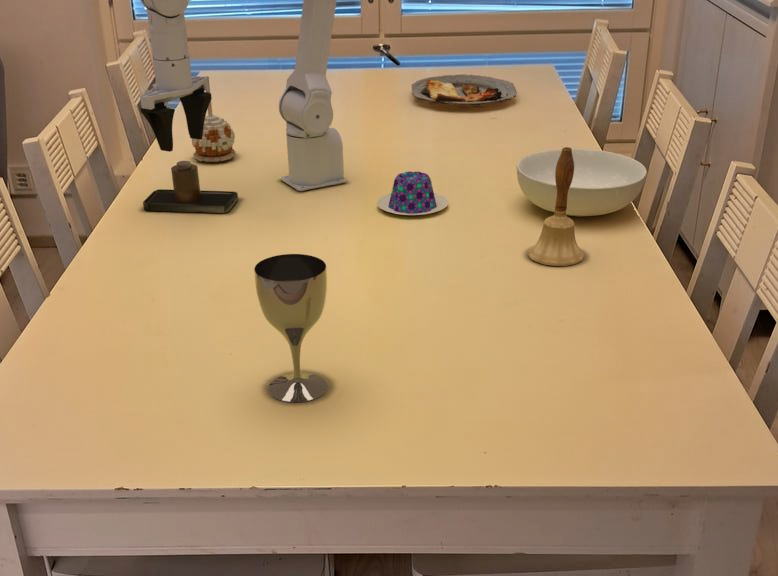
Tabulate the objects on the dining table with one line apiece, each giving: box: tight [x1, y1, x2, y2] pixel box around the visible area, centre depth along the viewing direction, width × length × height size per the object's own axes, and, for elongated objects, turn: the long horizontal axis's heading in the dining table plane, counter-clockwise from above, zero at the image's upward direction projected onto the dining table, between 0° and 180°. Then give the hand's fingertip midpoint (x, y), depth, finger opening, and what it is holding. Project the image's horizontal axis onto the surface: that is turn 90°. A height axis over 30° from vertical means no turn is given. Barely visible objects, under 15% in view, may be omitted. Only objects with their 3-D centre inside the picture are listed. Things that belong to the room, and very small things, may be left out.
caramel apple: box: [191, 75, 236, 163], centre depth 193 cm, size 8×8×15 cm
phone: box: [142, 188, 239, 214], centre depth 175 cm, size 8×1×15 cm
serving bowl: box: [516, 148, 648, 218], centre depth 168 cm, size 21×21×7 cm
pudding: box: [376, 171, 449, 216], centre depth 171 cm, size 12×12×5 cm
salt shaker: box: [170, 160, 201, 204], centre depth 173 cm, size 4×4×7 cm
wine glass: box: [253, 253, 329, 403], centre depth 117 cm, size 8×8×15 cm
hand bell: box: [527, 146, 585, 267], centre depth 149 cm, size 8×8×16 cm
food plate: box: [411, 73, 518, 107], centre depth 230 cm, size 25×23×4 cm
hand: (181, 144), depth 169 cm, fingers open, 7 cm apart
